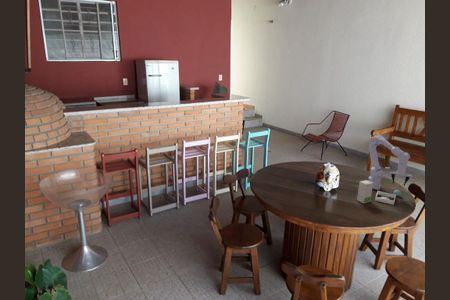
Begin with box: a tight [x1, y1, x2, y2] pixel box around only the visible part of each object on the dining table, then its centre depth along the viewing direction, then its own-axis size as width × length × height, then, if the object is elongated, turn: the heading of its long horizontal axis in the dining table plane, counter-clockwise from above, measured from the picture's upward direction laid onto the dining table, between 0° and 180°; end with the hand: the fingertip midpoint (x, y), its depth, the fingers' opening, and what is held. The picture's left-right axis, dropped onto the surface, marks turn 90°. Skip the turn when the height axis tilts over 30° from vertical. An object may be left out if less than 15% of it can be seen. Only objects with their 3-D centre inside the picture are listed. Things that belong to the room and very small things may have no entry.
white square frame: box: [374, 190, 397, 206], centre depth 242 cm, size 13×13×3 cm
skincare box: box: [356, 179, 373, 204], centre depth 237 cm, size 8×7×16 cm
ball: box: [392, 189, 401, 197], centre depth 248 cm, size 5×5×5 cm
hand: (398, 184), depth 245 cm, fingers open, 7 cm apart
